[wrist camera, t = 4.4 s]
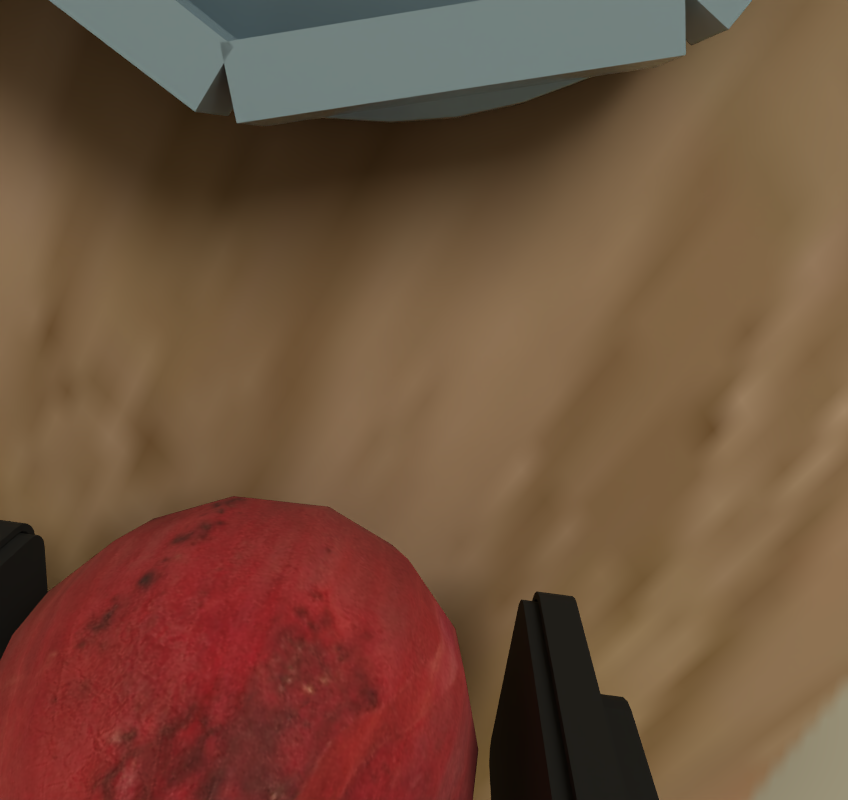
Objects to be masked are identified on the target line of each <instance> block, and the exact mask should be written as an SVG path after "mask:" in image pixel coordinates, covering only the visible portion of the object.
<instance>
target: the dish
mask: <svg viewBox="0 0 848 800" xmlns="http://www.w3.org/2000/svg"><path fill="white" fill-rule="evenodd" d="M49 1H51V2H52V3H53V4H55V5H56V6H57V7H59V8H60V9H61V10H62V11H64V12H65V13H66V14H68V15H69V16H70V17H72V18H73V19H74V20H76V21H77V22H78V23H79V24H81V25H82V26H83V27H85V28H86V29H87V30H89V31H90V32H91V33H93V34H94V35H95V36H96V37H98V38H99V39H100V40H102V41H103V42H104V43H106V44H107V45H108V46H110V47H111V48H112V49H114V50H115V51H116V52H117V53H119V54H120V55H121V56H123V57H124V58H125V59H127V60H128V61H129V62H131V63H132V64H133V65H134V66H136V67H137V68H138V69H140V70H141V71H142V72H144V73H145V74H146V75H148V76H149V77H150V78H151V79H153V80H154V81H155V82H157V83H158V84H159V85H161V86H162V87H163V88H165V89H166V90H167V91H168V92H170V93H171V94H172V95H174V96H175V97H176V98H178V99H179V100H180V101H182V102H183V103H184V104H186V105H187V106H188V107H189V108H191V109H192V110H193V111H195V112H201V113H208V114H215V115H223V116H229V114H230V113H231V111H232V109H233V108H234V113H235V118H236V122H237V123H238V124H247V125H257V126H270V125H277V124H284V123H290V122H297V121H304V120H310V119H317V118H323V117H324V118H329V119H339V120H354V121H370V122H386V123H401V122H414V121H426V120H439V119H452V118H460V117H464V116H469V115H473V114H478V113H482V112H487V111H491V110H496V109H500V108H505V107H510V106H514V105H519V104H522V103H524V102H527V101H530V100H533V99H535V98H538V97H541V96H543V95H546V94H549V93H552V92H554V91H557V90H560V89H562V88H565V87H568V86H571V85H573V84H576V83H579V82H581V81H584V80H585V79H587V78H589V77H594V76H601V75H607V74H614V73H621V72H627V71H634V70H641V69H647V68H654V67H657V66H659V65H662V64H664V63H667V62H669V61H672V60H674V59H677V58H679V57H682V56H684V55H686V41H687V42H688V43H689V44H691V45H693V44H696V43H698V42H700V41H703V40H705V39H707V38H709V37H712V36H714V35H716V34H719V33H721V32H723V31H726V30H728V29H729V28H730V27H731V26H732V24H733V23H734V22H735V21H736V19H737V18H738V17H739V16H740V15H741V13H742V12H743V11H744V10H745V8H746V7H747V6H748V5H749V4H750V2H751V1H752V0H49Z"/></svg>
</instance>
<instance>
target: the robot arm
mask: <svg viewBox="0 0 848 800" xmlns="http://www.w3.org/2000/svg"><path fill="white" fill-rule="evenodd" d="M47 593H48V592H47V577H46V562H45V547H44V541H43V539H42V537H40V536H39V535H35V534H34V530H33V528H32V527H31V526H30V525H28V524H26V523H18V522H11V521H3V520H0V660H1V658H2V656H3V653H4V651H5V649H6V647H7V645H8V643H9V641H10V639H11V637H12V635H13V634H14V632H15V631H16V630H17V629H18V628H19V626H20V625H21V624H22V623H23V622H24V620H25V619H26V618H27V617H28V615H29V614H30V613H31V612H32V611H33V609H34V608H35V607H36V606H37V605H38V603H39V602H40V601H41V600H42V599H43V597H44V596H45V595H46V594H47ZM489 767H490V786H491V800H659V798H658V795H657V792H656V789H655V785H654V782H653V779H652V776H651V772H650V769H649V766H648V763H647V759H646V756H645V753H644V750H643V747H642V743H641V740H640V737H639V734H638V730H637V727H636V724H635V721H634V718H633V714H632V711H631V709H630V706H629V704H628V702H627V701H626V700H625V699H624V698H623V697H618V696H610V695H603V694H600V691H599V687H598V683H597V679H596V675H595V672H594V668H593V664H592V660H591V656H590V653H589V649H588V645H587V641H586V637H585V634H584V630H583V626H582V622H581V618H580V614H579V611H578V607H577V603H576V600H575V598H574V597H573V596H566V595H558V594H551V593H543V592H536V593H535V594H534V597H533V600H532V601H528V600H521V601H520V603H519V607H518V611H517V616H516V621H515V626H514V631H513V636H512V641H511V645H510V650H509V655H508V660H507V665H506V670H505V675H504V680H503V684H502V689H501V694H500V699H499V704H498V709H497V714H496V719H495V724H494V728H493V733H492V738H491V745H490V759H489Z"/></svg>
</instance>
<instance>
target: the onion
mask: <svg viewBox="0 0 848 800" xmlns="http://www.w3.org/2000/svg"><path fill="white" fill-rule="evenodd" d="M477 756H478V746H477V740H476V735H475V729H474V723H473V718H472V712H471V706H470V701H469V695H468V689H467V684H466V678H465V673H464V668H463V663H462V658H461V654H460V649H459V644H458V639H457V635H456V630H455V628H454V626H453V625H452V623H451V622H450V620H449V619H448V617H447V616H446V614H445V613H444V612H443V610H442V609H441V607H440V606H439V604H438V603H437V601H436V600H435V598H434V597H433V595H432V594H431V592H430V591H429V589H428V588H427V586H426V585H425V583H424V582H423V580H422V579H421V577H420V576H419V574H418V573H417V572H416V570H415V569H414V567H413V566H412V564H411V563H410V561H409V560H408V559H407V558H406V557H405V556H404V555H403V554H402V553H400V552H399V551H398V550H397V549H396V548H395V547H394V546H393V545H391V544H389V543H388V542H386V541H385V540H383V539H381V538H380V537H378V536H376V535H375V534H373V533H371V532H370V531H368V530H366V529H365V528H363V527H361V526H360V525H358V524H356V523H355V522H353V521H351V520H350V519H348V518H346V517H345V516H343V515H341V514H340V513H338V512H336V511H335V510H333V509H331V508H330V507H325V506H316V505H307V504H299V503H290V502H281V501H272V500H263V499H254V498H245V497H235V496H233V497H229V498H226V499H222V500H218V501H215V502H211V503H208V504H204V505H201V506H197V507H194V508H190V509H186V510H183V511H179V512H176V513H172V514H169V515H165V516H162V517H158V518H155V519H152V520H150V521H149V522H147V523H145V524H143V525H141V526H140V527H138V528H136V529H134V530H133V531H131V532H129V533H127V534H125V535H124V536H122V537H120V538H118V539H117V540H115V541H113V542H112V543H111V544H109V545H108V546H107V547H106V548H104V549H103V550H102V551H100V552H99V553H98V554H96V555H95V556H94V557H93V558H91V559H90V560H89V561H87V562H86V563H85V564H83V565H82V566H81V567H80V568H78V569H77V570H76V571H74V572H73V573H72V574H71V575H69V576H68V577H67V578H65V579H64V580H63V581H61V582H60V583H59V584H58V585H56V586H55V587H54V588H52V589H51V590H50V591H48V593H47V594H46V595H45V596H44V597H43V599H42V600H41V601H40V602H39V603H38V605H37V606H36V607H35V608H34V609H33V611H32V612H31V613H30V614H29V615H28V617H27V618H26V619H25V620H24V622H23V623H22V624H21V625H20V626H19V628H18V629H17V630H16V631H15V632H14V634H13V635H12V637H11V639H10V641H9V643H8V645H7V647H6V649H5V651H4V653H3V656H2V658H1V660H0V800H473V792H474V783H475V774H476V765H477Z"/></svg>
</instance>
